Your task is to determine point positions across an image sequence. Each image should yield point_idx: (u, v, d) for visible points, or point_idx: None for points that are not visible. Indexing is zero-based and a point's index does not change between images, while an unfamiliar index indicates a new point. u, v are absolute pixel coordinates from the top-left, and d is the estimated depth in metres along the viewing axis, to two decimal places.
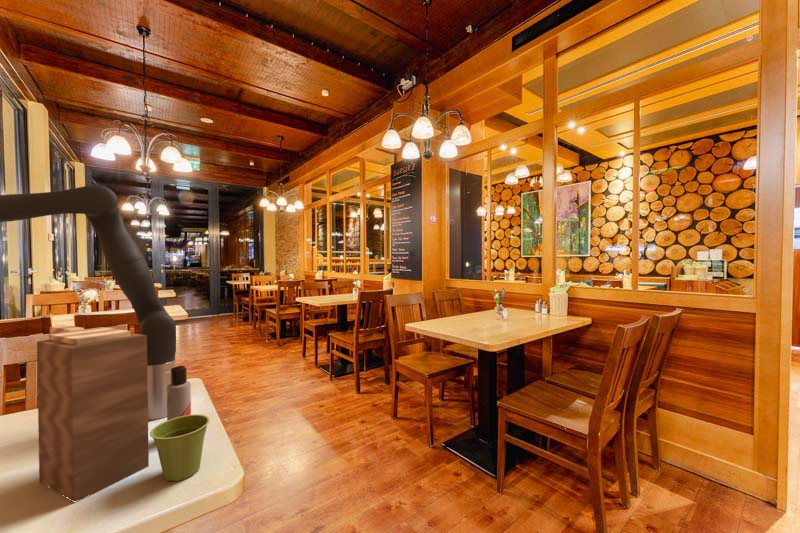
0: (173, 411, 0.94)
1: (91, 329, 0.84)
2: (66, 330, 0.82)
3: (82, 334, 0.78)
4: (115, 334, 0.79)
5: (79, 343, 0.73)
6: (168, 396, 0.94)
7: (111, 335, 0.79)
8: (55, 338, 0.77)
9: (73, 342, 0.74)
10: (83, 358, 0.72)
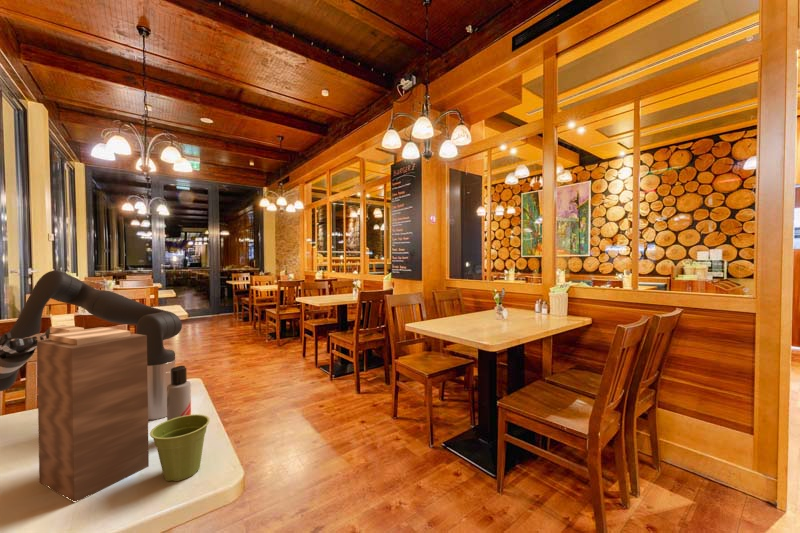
0: (173, 411, 0.94)
1: (91, 329, 0.84)
2: (66, 330, 0.82)
3: (82, 334, 0.78)
4: (115, 334, 0.79)
5: (79, 343, 0.73)
6: (168, 396, 0.94)
7: (111, 335, 0.79)
8: (55, 338, 0.77)
9: (73, 342, 0.74)
10: (83, 358, 0.72)
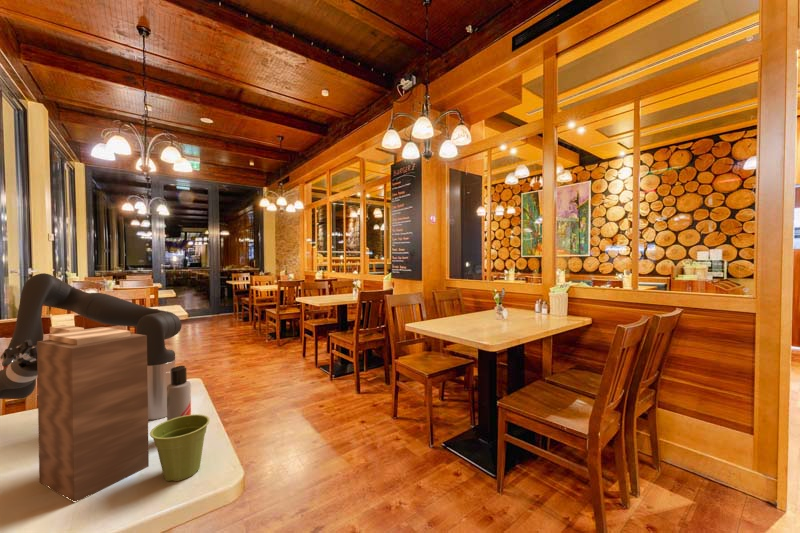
0: (173, 411, 0.94)
1: (91, 329, 0.84)
2: (66, 330, 0.82)
3: (82, 334, 0.78)
4: (115, 334, 0.79)
5: (79, 343, 0.73)
6: (168, 396, 0.94)
7: (111, 335, 0.79)
8: (55, 338, 0.77)
9: (73, 342, 0.74)
10: (83, 358, 0.72)
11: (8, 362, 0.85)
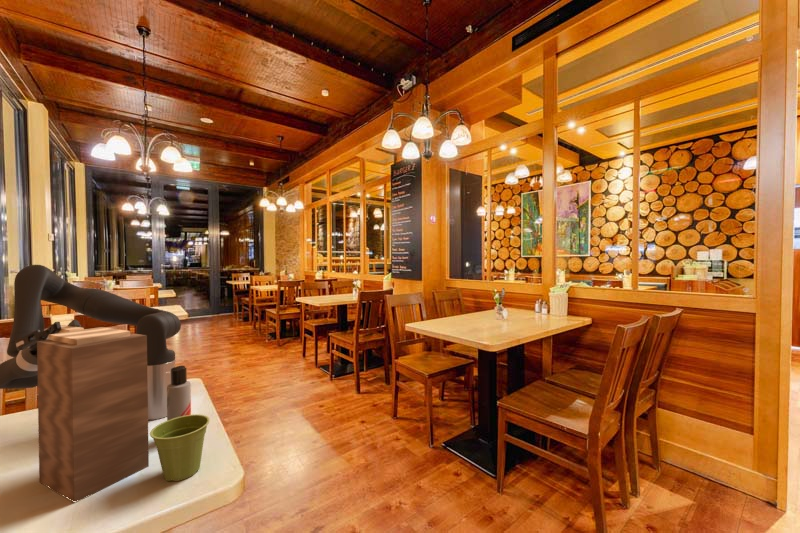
0: (173, 411, 0.94)
1: (91, 329, 0.84)
2: (66, 330, 0.82)
3: (82, 334, 0.78)
4: (115, 334, 0.79)
5: (79, 343, 0.73)
6: (168, 396, 0.94)
7: (111, 335, 0.79)
8: (54, 338, 0.77)
9: (73, 342, 0.74)
10: (83, 358, 0.72)
11: (28, 346, 0.83)
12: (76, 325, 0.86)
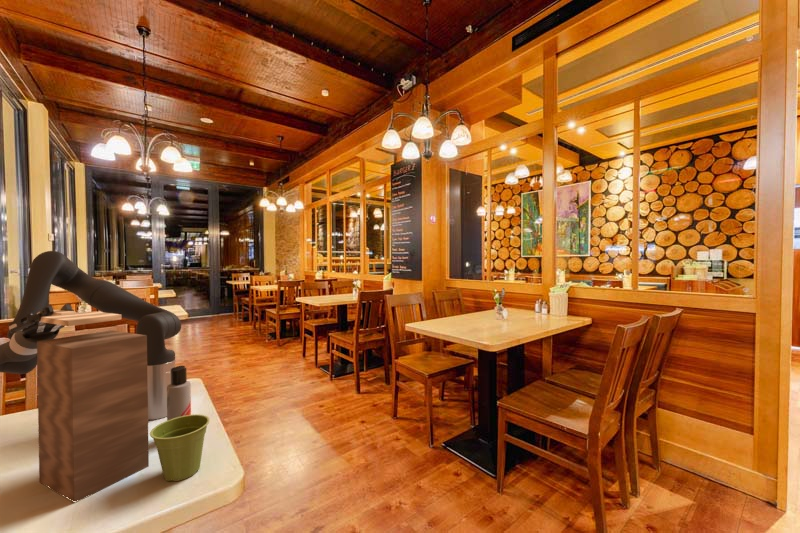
0: (173, 411, 0.94)
1: (83, 313, 0.86)
2: (58, 313, 0.84)
3: (74, 317, 0.80)
4: (106, 317, 0.81)
5: (70, 324, 0.75)
6: (168, 396, 0.94)
7: (102, 318, 0.80)
8: (47, 320, 0.79)
9: (64, 323, 0.75)
10: (83, 358, 0.72)
11: (21, 329, 0.84)
12: (68, 309, 0.88)
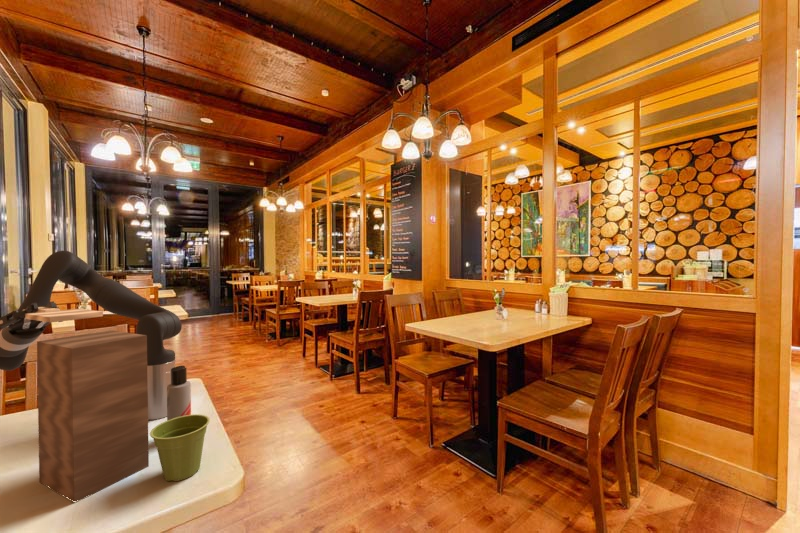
0: (173, 411, 0.94)
1: (66, 310, 0.89)
2: (42, 310, 0.87)
3: (56, 313, 0.83)
4: (88, 314, 0.84)
5: (52, 321, 0.78)
6: (168, 396, 0.94)
7: (84, 314, 0.84)
8: (30, 317, 0.82)
9: (46, 320, 0.79)
10: (83, 358, 0.72)
11: (7, 325, 0.88)
12: (53, 306, 0.91)
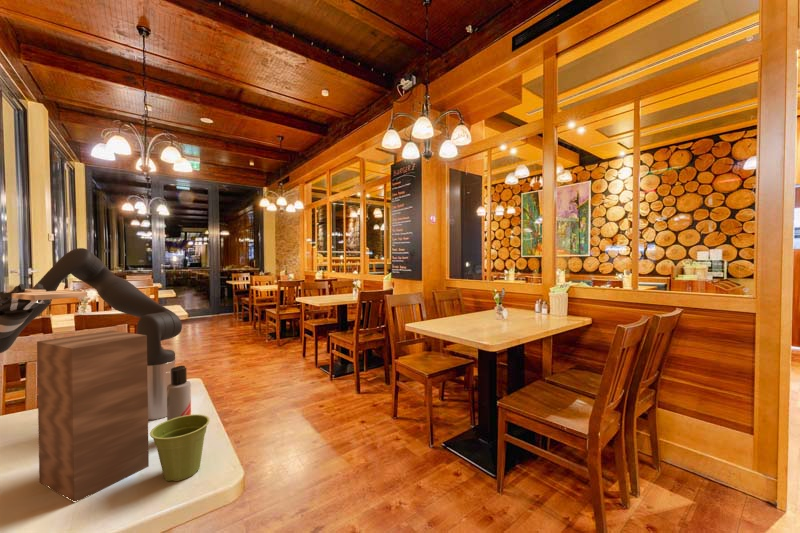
0: (173, 411, 0.94)
1: (52, 291, 0.93)
2: (29, 291, 0.91)
3: (42, 293, 0.87)
4: (72, 293, 0.88)
5: (37, 299, 0.82)
6: (168, 396, 0.94)
7: (68, 294, 0.87)
8: (16, 296, 0.86)
9: (31, 298, 0.82)
10: (83, 358, 0.72)
11: None
12: (39, 288, 0.94)
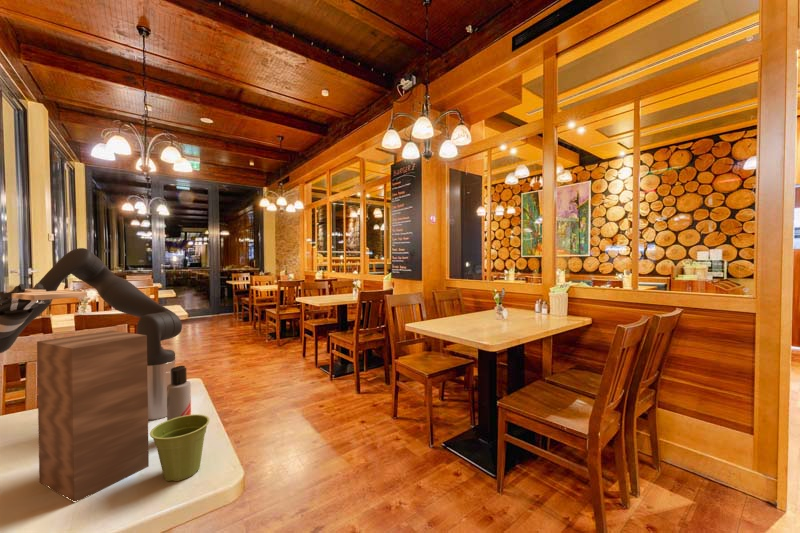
0: (173, 411, 0.94)
1: (52, 291, 0.93)
2: (29, 291, 0.91)
3: (41, 293, 0.87)
4: (72, 294, 0.88)
5: (36, 299, 0.82)
6: (168, 396, 0.94)
7: (68, 294, 0.87)
8: (16, 296, 0.86)
9: (31, 298, 0.82)
10: (83, 358, 0.72)
11: None
12: (39, 288, 0.95)
